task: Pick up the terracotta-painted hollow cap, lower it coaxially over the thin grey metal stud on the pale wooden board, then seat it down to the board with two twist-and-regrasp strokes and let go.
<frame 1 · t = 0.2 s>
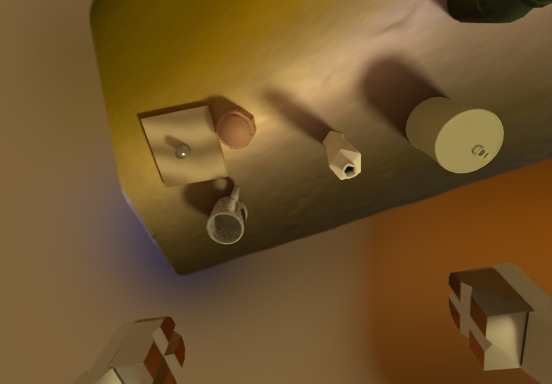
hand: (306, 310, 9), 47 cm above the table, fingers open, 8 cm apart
mug: (232, 203, 61), on the table
cap: (238, 125, 54), on the table
stud: (182, 151, 54), on the board, point 3 cm above the table
board: (187, 147, 56), on the table
can: (432, 124, 53), on the table
perfume bottle: (333, 142, 55), on the table
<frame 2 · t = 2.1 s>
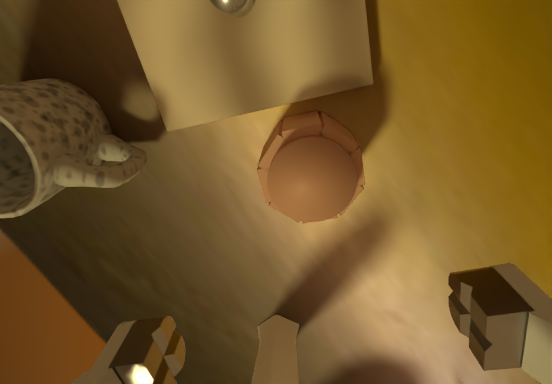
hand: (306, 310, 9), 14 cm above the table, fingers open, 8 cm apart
mug: (90, 134, 22), on the table
cap: (308, 157, 21), on the table
board: (241, 0, 18), on the table
perfume bottle: (277, 328, 29), on the table
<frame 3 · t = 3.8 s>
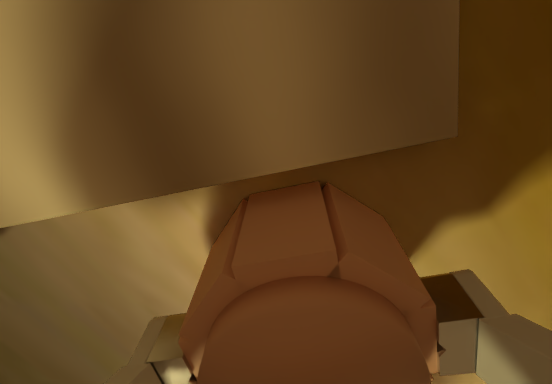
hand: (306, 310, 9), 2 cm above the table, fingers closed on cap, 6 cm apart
cap: (302, 264, 11), on the table, touching gripper
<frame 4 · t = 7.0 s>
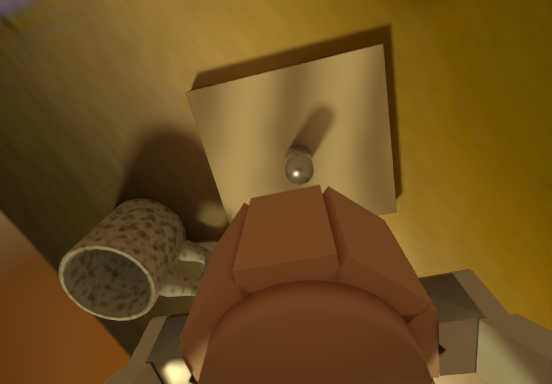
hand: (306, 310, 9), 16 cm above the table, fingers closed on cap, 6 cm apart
mug: (168, 235, 27), on the table
cap: (303, 268, 11), point 14 cm above the table, touching gripper
stud: (298, 163, 21), on the board, point 3 cm above the table
board: (297, 151, 23), on the table
when the fingers open (3 cm above the table, at t = 10.2 s): cap stays where it is, resting on board.
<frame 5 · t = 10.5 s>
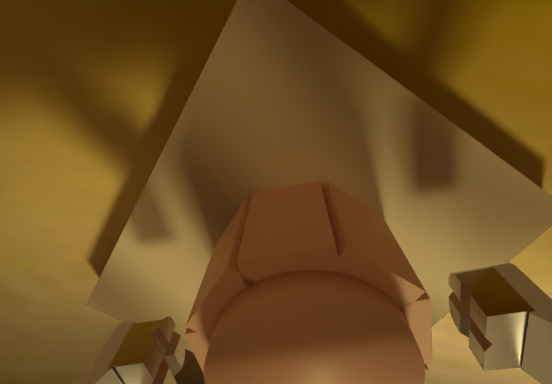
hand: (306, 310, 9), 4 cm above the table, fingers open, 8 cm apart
cap: (303, 261, 11), point 1 cm above the table, touching board
board: (301, 243, 12), on the table
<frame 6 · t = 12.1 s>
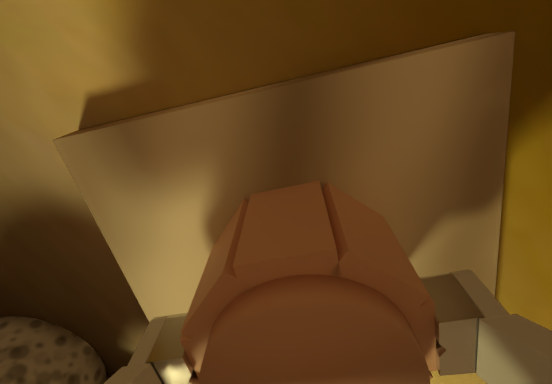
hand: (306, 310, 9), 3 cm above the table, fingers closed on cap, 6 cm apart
mug: (76, 367, 16), on the table
cap: (302, 264, 11), point 1 cm above the table, touching board, gripper
board: (302, 245, 12), on the table
when the fingers open (5 cm above the table, at t = 13.8 s): cap drops 1 cm, resting on board.
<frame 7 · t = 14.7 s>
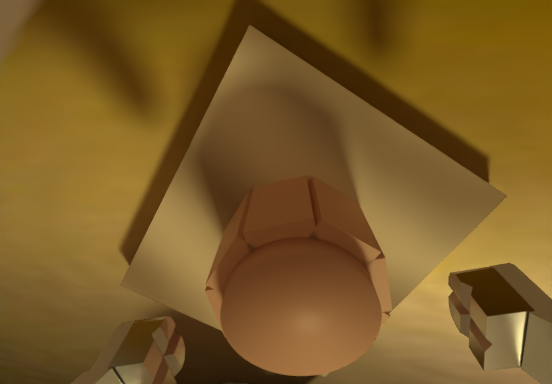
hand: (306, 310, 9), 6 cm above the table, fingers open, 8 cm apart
cap: (295, 242, 14), point 1 cm above the table, touching board
board: (295, 230, 15), on the table
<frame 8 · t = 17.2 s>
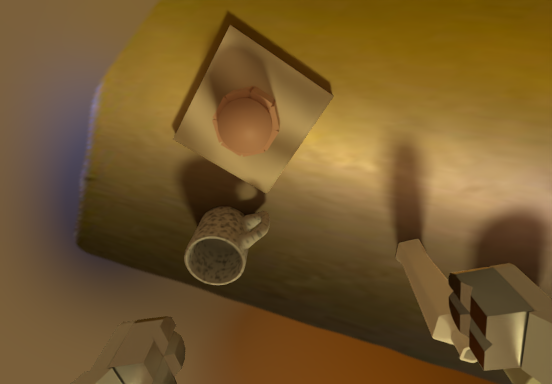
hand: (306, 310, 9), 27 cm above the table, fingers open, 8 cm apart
mug: (236, 222, 40), on the table
cap: (250, 117, 33), point 1 cm above the table, touching board
board: (251, 116, 34), on the table
can: (499, 306, 44), on the table
perfume bottle: (408, 250, 40), on the table
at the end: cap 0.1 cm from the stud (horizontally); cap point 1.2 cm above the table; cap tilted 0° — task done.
